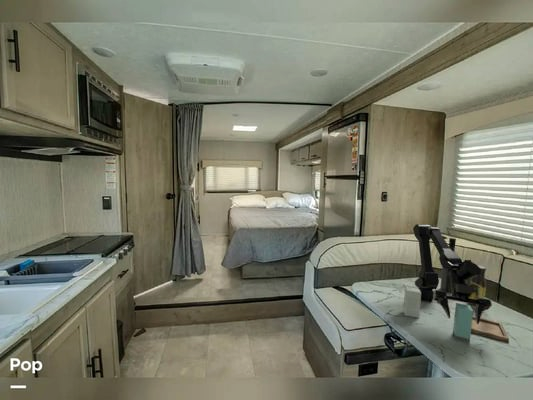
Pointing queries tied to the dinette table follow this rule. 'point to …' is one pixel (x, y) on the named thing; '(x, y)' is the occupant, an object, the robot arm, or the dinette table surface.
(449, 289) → the wine bottle
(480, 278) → the sauce bottle
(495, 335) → the walnut tray
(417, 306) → the skincare box
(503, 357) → the dinette table surface
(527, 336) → the dinette table surface
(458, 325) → the teal block
